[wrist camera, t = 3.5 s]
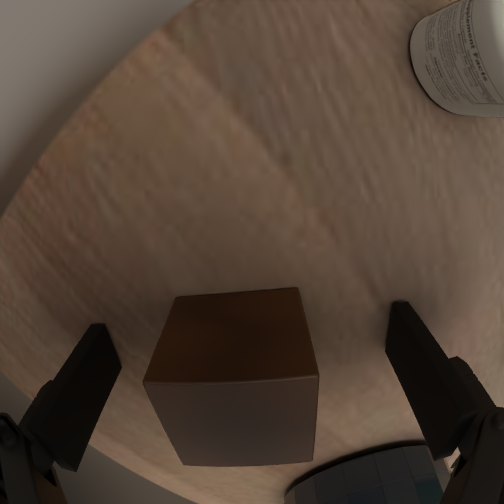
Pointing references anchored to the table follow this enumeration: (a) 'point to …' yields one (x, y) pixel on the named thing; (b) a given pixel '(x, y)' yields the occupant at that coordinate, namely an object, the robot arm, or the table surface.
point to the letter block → (236, 379)
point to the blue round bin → (378, 480)
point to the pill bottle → (462, 57)
